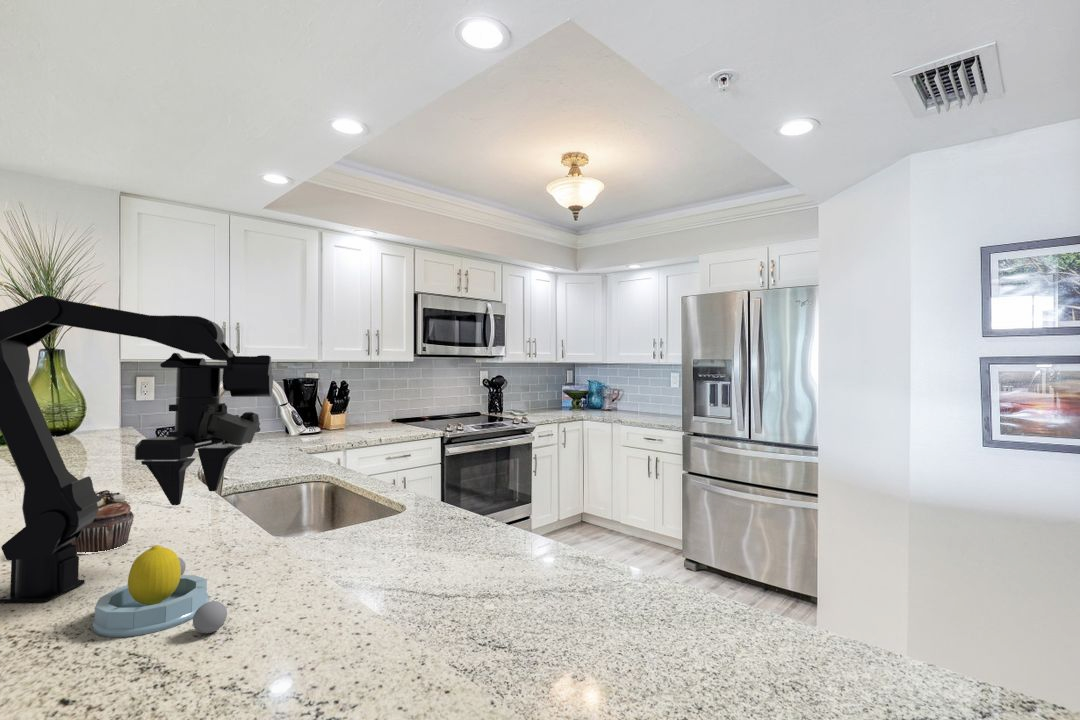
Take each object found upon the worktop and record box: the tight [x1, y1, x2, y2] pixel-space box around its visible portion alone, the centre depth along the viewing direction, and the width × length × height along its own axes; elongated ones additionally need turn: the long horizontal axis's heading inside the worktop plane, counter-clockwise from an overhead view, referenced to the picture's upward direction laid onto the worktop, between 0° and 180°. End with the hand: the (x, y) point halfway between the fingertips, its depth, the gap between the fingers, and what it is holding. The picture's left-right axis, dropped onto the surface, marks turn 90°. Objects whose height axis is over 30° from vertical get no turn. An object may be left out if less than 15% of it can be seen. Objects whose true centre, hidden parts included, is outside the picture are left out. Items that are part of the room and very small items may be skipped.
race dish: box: [92, 574, 210, 638], centre depth 67 cm, size 12×12×3 cm
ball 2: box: [192, 600, 228, 634], centre depth 62 cm, size 4×4×4 cm
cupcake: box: [71, 489, 135, 553], centre depth 92 cm, size 10×10×10 cm
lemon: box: [127, 544, 181, 606], centre depth 67 cm, size 6×6×8 cm
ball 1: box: [177, 556, 187, 575], centre depth 77 cm, size 4×4×4 cm
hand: (195, 497), depth 80 cm, fingers open, 9 cm apart
